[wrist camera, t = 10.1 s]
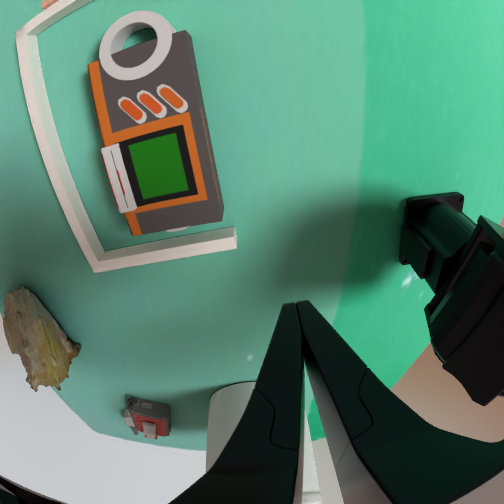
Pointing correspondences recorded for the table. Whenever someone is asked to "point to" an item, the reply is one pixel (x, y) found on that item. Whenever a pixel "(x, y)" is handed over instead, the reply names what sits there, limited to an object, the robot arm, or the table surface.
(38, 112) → the docking bay
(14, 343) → the seashell
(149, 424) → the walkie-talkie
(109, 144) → the electronic device
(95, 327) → the table surface
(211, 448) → the utensil holder
